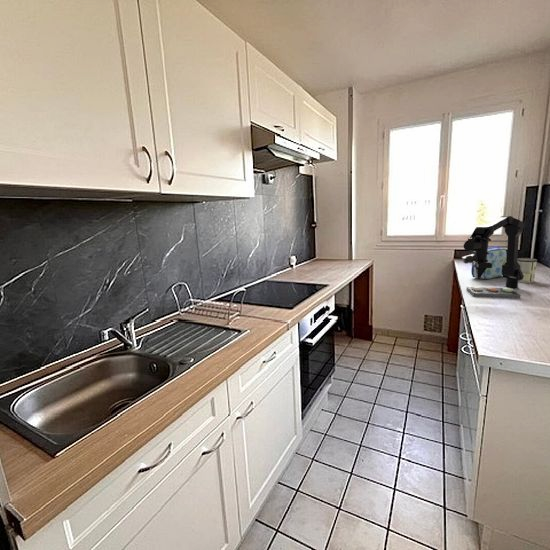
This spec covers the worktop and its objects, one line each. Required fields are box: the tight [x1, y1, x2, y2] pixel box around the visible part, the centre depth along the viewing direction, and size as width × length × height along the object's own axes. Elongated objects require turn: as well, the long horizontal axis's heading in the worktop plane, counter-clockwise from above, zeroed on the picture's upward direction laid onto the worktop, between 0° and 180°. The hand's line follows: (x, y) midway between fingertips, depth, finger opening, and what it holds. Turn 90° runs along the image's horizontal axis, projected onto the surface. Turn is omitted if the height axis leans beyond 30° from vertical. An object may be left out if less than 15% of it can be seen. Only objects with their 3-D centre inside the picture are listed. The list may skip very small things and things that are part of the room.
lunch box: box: [471, 245, 507, 280], centre depth 210 cm, size 26×11×21 cm, turn 118°
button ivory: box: [472, 286, 483, 291], centre depth 170 cm, size 4×4×3 cm
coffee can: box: [517, 257, 538, 283], centre depth 198 cm, size 10×10×14 cm
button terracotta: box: [486, 286, 498, 292], centre depth 168 cm, size 4×4×3 cm
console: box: [466, 286, 522, 300], centre depth 168 cm, size 14×21×3 cm, turn 72°
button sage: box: [502, 287, 514, 292], centre depth 166 cm, size 4×4×3 cm
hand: (478, 278), depth 169 cm, fingers closed
